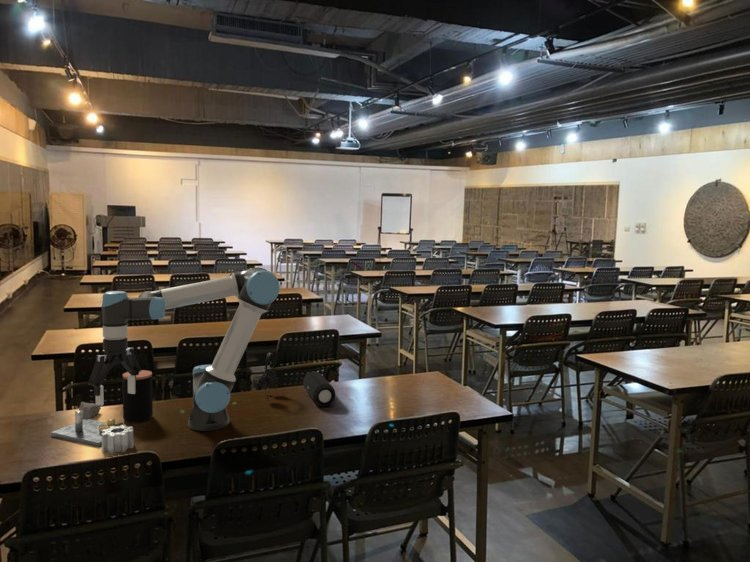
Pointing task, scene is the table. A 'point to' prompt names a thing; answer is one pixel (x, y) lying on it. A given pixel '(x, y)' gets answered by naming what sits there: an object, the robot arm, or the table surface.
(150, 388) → the coffee jar
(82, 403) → the stone
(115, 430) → the planet gear
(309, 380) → the portable speaker
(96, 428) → the carrier
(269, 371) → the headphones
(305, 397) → the table surface
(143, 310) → the robot arm
